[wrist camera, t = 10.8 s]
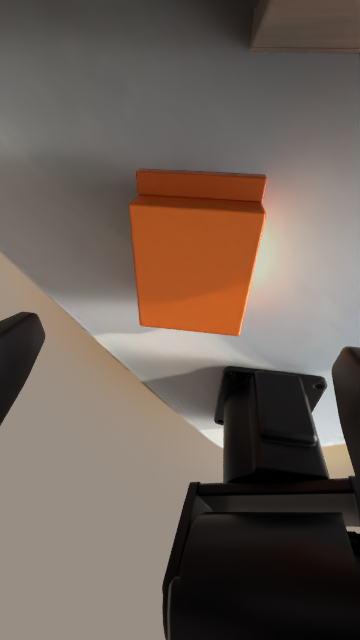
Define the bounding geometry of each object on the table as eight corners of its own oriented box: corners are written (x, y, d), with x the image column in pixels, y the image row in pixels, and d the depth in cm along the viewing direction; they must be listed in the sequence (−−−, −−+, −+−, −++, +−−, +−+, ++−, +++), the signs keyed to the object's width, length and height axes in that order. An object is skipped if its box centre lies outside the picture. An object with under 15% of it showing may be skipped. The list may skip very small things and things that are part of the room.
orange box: (263, 168, 10) (274, 185, 8) (235, 311, 15) (237, 349, 12) (145, 162, 11) (123, 177, 8) (152, 303, 15) (139, 338, 13)
